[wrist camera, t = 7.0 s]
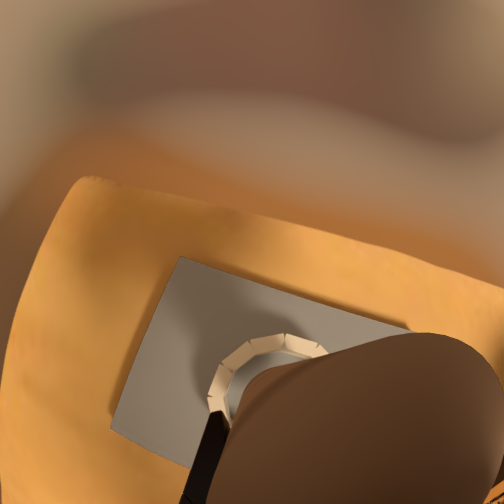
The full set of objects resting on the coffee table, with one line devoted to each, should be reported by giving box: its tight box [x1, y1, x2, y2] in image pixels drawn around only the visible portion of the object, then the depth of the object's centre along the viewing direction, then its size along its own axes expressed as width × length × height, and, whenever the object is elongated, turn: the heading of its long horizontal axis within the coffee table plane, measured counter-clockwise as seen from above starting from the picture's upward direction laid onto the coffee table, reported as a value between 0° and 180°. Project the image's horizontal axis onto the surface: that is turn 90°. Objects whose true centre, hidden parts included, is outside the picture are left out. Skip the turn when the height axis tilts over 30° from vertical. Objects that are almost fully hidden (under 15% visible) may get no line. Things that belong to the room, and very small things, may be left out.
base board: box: [110, 256, 417, 469], centre depth 17 cm, size 22×16×4 cm
